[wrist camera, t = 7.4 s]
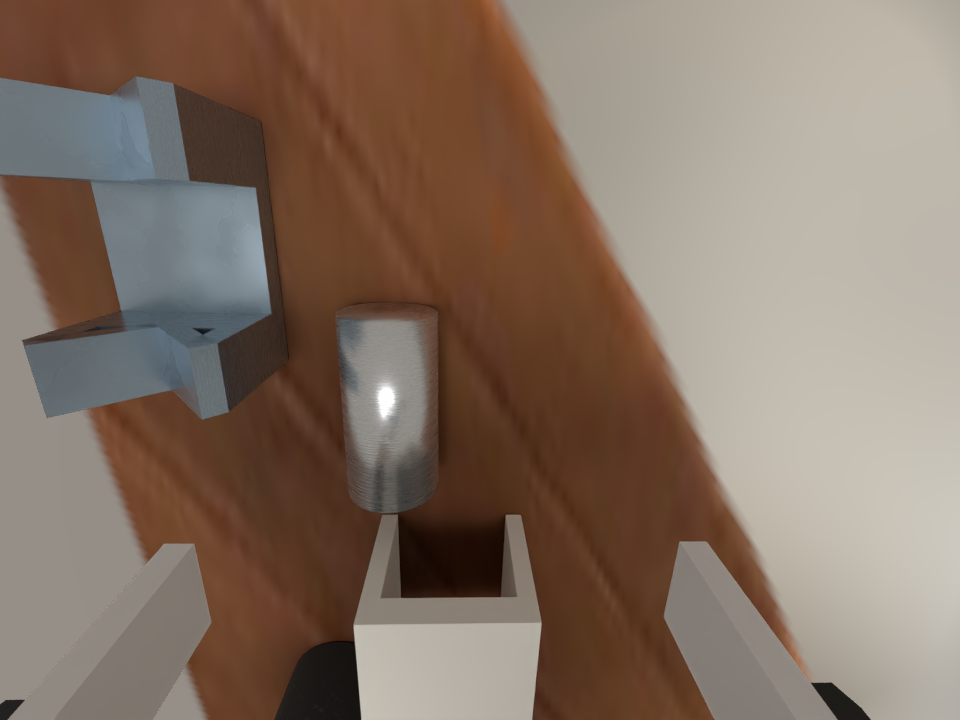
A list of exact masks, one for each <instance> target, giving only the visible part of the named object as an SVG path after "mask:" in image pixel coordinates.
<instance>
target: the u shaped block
mask: <svg viewBox="0 0 960 720" xmlns="http://www.w3.org/2000/svg"><path fill="white" fill-rule="evenodd" d="M541 624H542V622H541V617H540V612H539V607H538V601H537V596H536V591H535V586H534V581H533V575H532V570H531V565H530V560H529V554H528V549H527V544H526V539H525V534H524V528H523V523H522V518H521V515H506V517H505V534H504V552H503V569H502V586H501V597H478V598H401V585H400V558H399V531H398V515H382V518H381V522H380V526H379V529H378V533H377V537H376V541H375V545H374V548H373V552H372V556H371V560H370V564H369V568H368V571H367V575H366V579H365V583H364V587H363V591H362V594H361V598H360V602H359V606H358V610H357V614H356V617H355V621H354V636H355V648H356V660H357V672H358V684H359V696H360V708H361V720H532V715H533V705H534V695H535V684H536V674H537V664H538V654H539V644H540V634H541Z"/></svg>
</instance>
